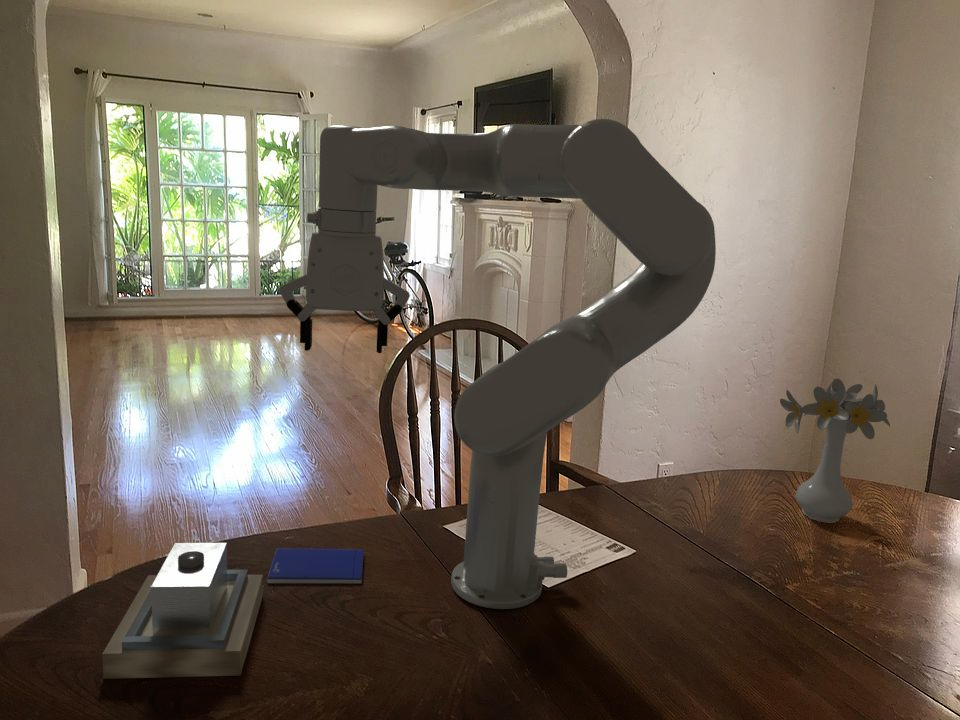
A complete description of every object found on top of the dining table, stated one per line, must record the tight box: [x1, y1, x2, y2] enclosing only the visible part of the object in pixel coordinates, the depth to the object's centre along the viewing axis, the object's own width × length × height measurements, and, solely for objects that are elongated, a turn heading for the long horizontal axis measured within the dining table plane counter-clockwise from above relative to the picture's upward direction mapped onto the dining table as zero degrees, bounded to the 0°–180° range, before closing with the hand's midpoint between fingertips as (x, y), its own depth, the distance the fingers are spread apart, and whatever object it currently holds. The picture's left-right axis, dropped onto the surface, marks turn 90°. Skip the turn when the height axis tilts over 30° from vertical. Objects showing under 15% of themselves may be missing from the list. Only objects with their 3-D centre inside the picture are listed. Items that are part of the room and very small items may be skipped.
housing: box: [151, 542, 228, 636], centre depth 85 cm, size 10×6×7 cm, turn 8°
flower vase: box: [779, 377, 891, 522], centre depth 129 cm, size 13×18×25 cm
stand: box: [101, 569, 264, 680], centre depth 86 cm, size 14×16×4 cm
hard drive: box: [267, 547, 365, 584], centre depth 103 cm, size 2×8×12 cm
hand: (343, 349), depth 101 cm, fingers open, 9 cm apart
